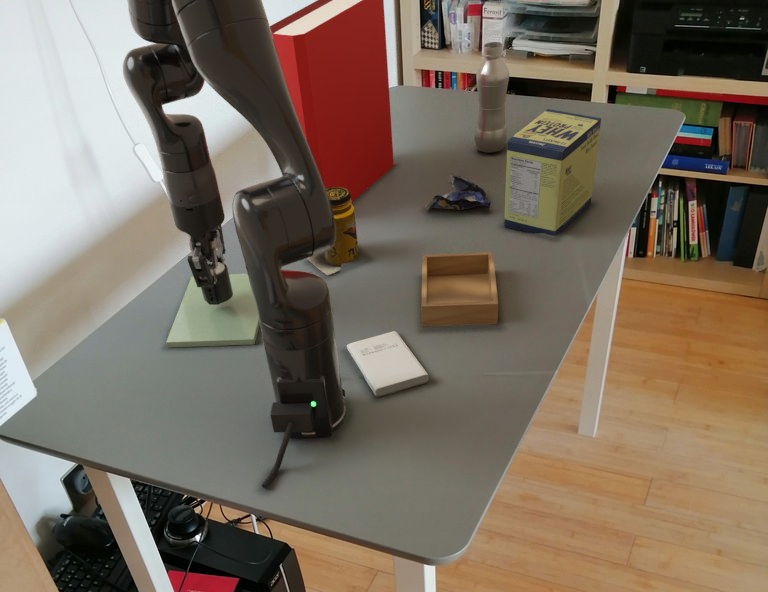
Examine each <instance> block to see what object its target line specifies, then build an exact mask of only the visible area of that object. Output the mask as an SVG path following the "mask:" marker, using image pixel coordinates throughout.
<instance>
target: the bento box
mask: <svg viewBox="0 0 768 592" xmlns="http://www.w3.org/2000/svg"><path fill="white" fill-rule="evenodd" d="M494 257H495V256H494V251H482V252H460V253H459V252H458V253H436V254H435V253H433V254H422V255H421V305H420V307H421V323H422V324H421V327H444V326H445V327H447V326H471V325H497V324H498V322H499V321H498V320H499V297H498V287H497V277H496V268H495V267H496V266H495V258H494Z"/></svg>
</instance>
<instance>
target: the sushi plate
mask: <svg viewBox="0 0 768 592" xmlns="http://www.w3.org/2000/svg"><path fill="white" fill-rule="evenodd" d="M229 277H230V282H231V286H232V291H233V296H232V297H231V299H229V300H228V301H226V302H223V303H220V304H218V305H210V304H208V303H207V302H206V301H205V300H204V297H203V293H202V289H201V287H197V284H196V282H195V279H194V276H193V275H191V277H190V280H189V282H188V285H187V286H186V287H187V288H186V289H185V293H184V295H183V298H182V300H181V302H180V305H179V308H178V310H177V313H176V315H175V318H174V321H173V322H172V326H171V328H170V331H169V333H168V336H167V339H166V341H165V344H166V347H167V348H190V347H193V348H194V347H219V346H220V347H221V346H247V345H249V346H251V345H255V344H256V341H257V337H258V332H259V330H260V322H259V317H258V313H257V308H256V304H255V300H254V297H253V293H252V290H251V286H250V282H249V277H248V273H232V274H231V273H229Z"/></svg>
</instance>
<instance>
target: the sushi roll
mask: <svg viewBox="0 0 768 592" xmlns="http://www.w3.org/2000/svg"><path fill="white" fill-rule="evenodd" d="M210 263H212V262H210ZM229 274H230V272H229V269H228V266H227V264H226V263H225V262H224V263H222V262H218V267H217V268H216V277H217V282H218V286H219V291H220V295H221V299H222V301H221V303H223V302H226V301H228V300H229V299H231V297H232V296H233V291H232V286H231V282H230V277H229ZM201 289H202V293H203V297H204V300H205V301H206V302H207V299H206V295H205V291H204V287H201Z"/></svg>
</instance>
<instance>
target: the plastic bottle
mask: <svg viewBox="0 0 768 592" xmlns="http://www.w3.org/2000/svg"><path fill="white" fill-rule="evenodd" d="M503 56H504V44H503V43H502V42H499V41H490V42H487V43H484V44H483V52H482V57H483V60H482V61H481V63H480V65H479V67H478V68H477V71H476V74H475V77H476V78H475V79H476V88H477V102H478V106H477V107H478V112H477V120H476V121H477V122H476V128H475V132H474V133H475V134H474V143H475V147H476V148H477V150H478V151H480V152H482V153H496V152H500V151H501V150H503V149H504V147H505V146H506V144H507V139H508V135H507V133H508V132H507V126H506V101H507V92H508V87H509V81H510V70H509V67H508V65H507V63H506V62H505V60H504V59H503Z"/></svg>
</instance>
